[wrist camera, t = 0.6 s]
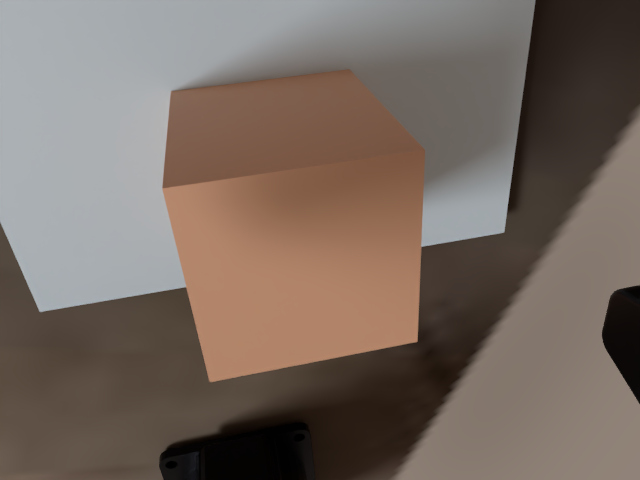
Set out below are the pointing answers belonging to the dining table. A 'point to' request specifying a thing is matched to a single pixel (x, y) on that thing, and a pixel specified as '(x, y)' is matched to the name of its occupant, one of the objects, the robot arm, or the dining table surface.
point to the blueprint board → (220, 69)
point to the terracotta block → (294, 220)
